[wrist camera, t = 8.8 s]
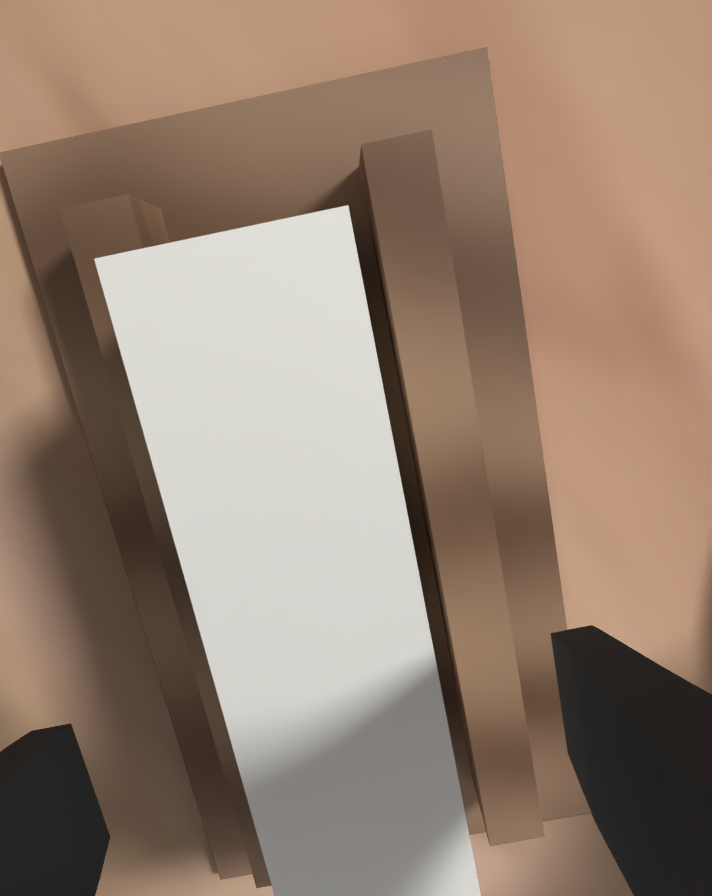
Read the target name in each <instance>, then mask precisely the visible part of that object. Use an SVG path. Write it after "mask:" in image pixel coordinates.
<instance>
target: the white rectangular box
mask: <svg viewBox="0 0 712 896" xmlns="http://www.w3.org/2000/svg"><path fill="white" fill-rule="evenodd" d="M94 260H95V264H96V267H97V271H98V274H99V278H100V282H101V285H102V289H103V292H104V296H105V299H106V303H107V306H108V310H109V313H110V317H111V320H112V324H113V327H114V331H115V334H116V338H117V341H118V345H119V349H120V352H121V356H122V359H123V363H124V366H125V370H126V373H127V377H128V380H129V384H130V387H131V391H132V394H133V398H134V401H135V405H136V409H137V412H138V416H139V419H140V423H141V426H142V430H143V433H144V437H145V440H146V444H147V447H148V451H149V454H150V458H151V461H152V465H153V469H154V472H155V476H156V479H157V483H158V486H159V490H160V493H161V497H162V500H163V504H164V507H165V511H166V514H167V518H168V521H169V525H170V529H171V532H172V536H173V539H174V543H175V546H176V550H177V553H178V557H179V560H180V564H181V567H182V571H183V574H184V578H185V581H186V585H187V588H188V592H189V596H190V599H191V603H192V606H193V610H194V613H195V617H196V620H197V624H198V627H199V631H200V634H201V638H202V641H203V645H204V648H205V652H206V656H207V659H208V663H209V666H210V670H211V673H212V677H213V680H214V684H215V687H216V691H217V694H218V698H219V701H220V705H221V708H222V712H223V716H224V719H225V723H226V726H227V730H228V733H229V737H230V740H231V744H232V747H233V751H234V754H235V758H236V761H237V765H238V768H239V772H240V776H241V779H242V783H243V786H244V790H245V793H246V797H247V800H248V804H249V807H250V811H251V814H252V818H253V821H254V825H255V828H256V832H257V835H258V839H259V843H260V846H261V850H262V853H263V857H264V860H265V864H266V867H267V871H268V874H269V878H270V881H271V885H272V888H273V892H274V895H275V896H481V894H480V888H479V883H478V878H477V873H476V868H475V862H474V857H473V852H472V847H471V842H470V836H469V831H468V826H467V821H466V816H465V810H464V805H463V800H462V795H461V790H460V784H459V779H458V774H457V769H456V764H455V758H454V753H453V748H452V743H451V737H450V732H449V727H448V722H447V717H446V711H445V706H444V701H443V696H442V691H441V685H440V680H439V675H438V670H437V665H436V659H435V654H434V649H433V644H432V639H431V633H430V628H429V623H428V618H427V613H426V607H425V602H424V597H423V592H422V587H421V581H420V576H419V571H418V566H417V560H416V555H415V550H414V545H413V540H412V534H411V529H410V524H409V519H408V514H407V508H406V503H405V498H404V493H403V488H402V482H401V477H400V472H399V467H398V462H397V456H396V451H395V446H394V441H393V436H392V430H391V425H390V420H389V415H388V409H387V404H386V399H385V394H384V389H383V383H382V378H381V373H380V368H379V363H378V357H377V352H376V347H375V342H374V337H373V331H372V326H371V321H370V316H369V311H368V305H367V300H366V295H365V290H364V285H363V279H362V274H361V269H360V264H359V259H358V253H357V248H356V243H355V238H354V232H353V227H352V222H351V217H350V212H349V206H348V205H347V206H342V207H337V208H332V209H328V210H323V211H318V212H313V213H309V214H304V215H299V216H294V217H290V218H285V219H280V220H275V221H271V222H266V223H261V224H256V225H252V226H247V227H242V228H237V229H233V230H228V231H223V232H218V233H214V234H209V235H204V236H199V237H195V238H190V239H185V240H180V241H176V242H171V243H166V244H161V245H157V246H152V247H147V248H142V249H138V250H133V251H128V252H123V253H119V254H114V255H109V256H104V257H100V258H95V259H94Z"/></svg>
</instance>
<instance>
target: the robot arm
mask: <svg viewBox="0 0 712 896" xmlns="http://www.w3.org/2000/svg"><path fill="white" fill-rule="evenodd" d="M550 634H551V641H552V648H553V655H554V662H555V668H556V675H557V682H558V689H559V696H560V703H561V710H562V717H563V724H564V731H565V738H566V745H567V752H568V755H569V758H570V760H571V763H572V765H573V768H574V770H575V773H576V776H577V778H578V781H579V783H580V786H581V788H582V791H583V793H584V796H585V798H586V801H587V803H588V806H589V808H590V810H591V813H592V815H593V818H594V820H595V822H596V824H597V826H598V828H599V830H600V832H601V834H602V836H603V838H604V840H605V842H606V843H607V845H608V847H609V849H610V851H611V853H612V855H613V857H614V859H615V860H616V862H617V864H618V866H619V868H620V870H621V872H622V874H623V876H624V877H625V879H626V881H627V883H628V885H629V887H630V889H631V891H632V892H633V894H634V896H712V694H710V693H708V692H706V691H704V690H702V689H701V688H699V687H697V686H695V685H693V684H692V683H690V682H688V681H686V680H685V679H683V678H681V677H679V676H677V675H676V674H674V673H672V672H671V671H669V670H667V669H665V668H664V667H662V666H660V665H659V664H657V663H655V662H654V661H652V660H650V659H648V658H647V657H645V656H643V655H642V654H640V653H638V652H637V651H635V650H633V649H632V648H630V647H628V646H627V645H625V644H623V643H622V642H620V641H618V640H617V639H615V638H613V637H612V636H610V635H608V634H607V633H605V632H603V631H602V630H600V629H598V628H596V627H594V626H592V625H591V626H586V627H580V628H575V629H570V630H565V631H559V632H554V633H550ZM109 839H110V835H109V832H108V829H107V826H106V823H105V820H104V818H103V815H102V812H101V809H100V806H99V803H98V800H97V797H96V794H95V792H94V789H93V786H92V783H91V780H90V777H89V774H88V771H87V768H86V766H85V763H84V760H83V757H82V754H81V751H80V748H79V745H78V742H77V740H76V737H75V734H74V731H73V728H72V725H71V724H66V725H61V726H55V727H50V728H45V729H39V730H34V731H31V732H29V733H28V734H26V735H24V736H23V737H21V738H20V739H18V740H17V741H15V742H14V743H12V744H11V745H9V746H8V747H7V748H5V749H4V750H2V751H1V752H0V896H95V893H96V890H97V886H98V883H99V879H100V876H101V872H102V867H103V863H104V859H105V855H106V851H107V847H108V843H109Z"/></svg>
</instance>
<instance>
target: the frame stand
mask: <svg viewBox="0 0 712 896" xmlns="http://www.w3.org/2000/svg"><path fill="white" fill-rule="evenodd" d="M0 159H1V162H2V165H3V169H4V172H5V175H6V178H7V182H8V185H9V188H10V192H11V195H12V198H13V201H14V205H15V208H16V211H17V215H18V218H19V221H20V224H21V228H22V231H23V234H24V237H25V241H26V244H27V247H28V251H29V254H30V257H31V260H32V264H33V267H34V270H35V274H36V277H37V280H38V283H39V287H40V290H41V293H42V296H43V300H44V303H45V306H46V310H47V313H48V316H49V319H50V323H51V326H52V329H53V333H54V336H55V339H56V342H57V346H58V349H59V352H60V356H61V359H62V362H63V365H64V369H65V372H66V375H67V378H68V382H69V385H70V388H71V392H72V395H73V398H74V401H75V405H76V408H77V411H78V415H79V418H80V421H81V424H82V428H83V431H84V434H85V437H86V441H87V444H88V447H89V451H90V454H91V457H92V460H93V464H94V467H95V470H96V474H97V477H98V480H99V483H100V487H101V490H102V493H103V496H104V500H105V503H106V506H107V510H108V513H109V516H110V519H111V523H112V526H113V529H114V533H115V536H116V539H117V542H118V546H119V549H120V552H121V556H122V559H123V562H124V565H125V569H126V572H127V575H128V578H129V582H130V585H131V588H132V592H133V595H134V598H135V601H136V605H137V608H138V611H139V615H140V618H141V621H142V624H143V628H144V631H145V634H146V637H147V641H148V644H149V647H150V651H151V654H152V657H153V660H154V664H155V667H156V670H157V674H158V677H159V680H160V683H161V687H162V690H163V693H164V697H165V700H166V703H167V706H168V710H169V713H170V716H171V719H172V723H173V726H174V729H175V733H176V736H177V739H178V742H179V746H180V749H181V752H182V756H183V759H184V762H185V765H186V769H187V772H188V775H189V778H190V782H191V785H192V788H193V792H194V795H195V798H196V801H197V805H198V808H199V811H200V815H201V818H202V821H203V824H204V828H205V831H206V834H207V837H208V841H209V844H210V847H211V851H212V854H213V857H214V860H215V864H216V867H217V870H218V874H219V877H220V880H222V879H227V878H233V877H238V876H244V875H249V874H253V877H254V881H255V884H256V887H257V888H260V887H266V886H271V881H270V878H269V874H268V871H267V867H266V864H265V860H264V857H263V853H262V850H261V846H260V843H259V839H258V835H257V832H256V828H255V825H254V821H253V818H252V814H251V811H250V807H249V804H248V800H247V797H246V793H245V790H244V786H243V783H242V779H241V776H240V772H239V768H238V765H237V761H236V758H235V754H234V751H233V747H232V744H231V740H230V737H229V733H228V730H227V726H226V723H225V719H224V716H223V712H222V708H221V705H220V701H219V698H218V694H217V691H216V687H215V684H214V680H213V677H212V673H211V670H210V666H209V663H208V659H207V656H206V652H205V648H204V645H203V641H202V638H201V634H200V631H199V627H198V624H197V620H196V617H195V613H194V610H193V606H192V603H191V599H190V596H189V592H188V588H187V585H186V581H185V578H184V574H183V571H182V567H181V564H180V560H179V557H178V553H177V550H176V546H175V543H174V539H173V536H172V532H171V529H170V525H169V521H168V518H167V514H166V511H165V507H164V504H163V500H162V497H161V493H160V490H159V486H158V483H157V479H156V476H155V472H154V469H153V465H152V461H151V458H150V454H149V451H148V447H147V444H146V440H145V437H144V433H143V430H142V426H141V423H140V419H139V416H138V412H137V409H136V405H135V401H134V398H133V394H132V391H131V387H130V384H129V380H128V377H127V373H126V370H125V366H124V363H123V359H122V356H121V352H120V349H119V345H118V341H117V338H116V334H115V331H114V327H113V324H112V320H111V317H110V313H109V310H108V306H107V303H106V299H105V296H104V292H103V289H102V285H101V282H100V278H99V274H98V271H97V267H96V264H95V260H94V259H95V258H100V257H104V256H109V255H114V254H119V253H123V252H128V251H133V250H138V249H142V248H147V247H152V246H157V245H161V244H166V243H171V242H176V241H180V240H185V239H190V238H195V237H199V236H204V235H209V234H214V233H218V232H223V231H228V230H233V229H237V228H242V227H247V226H252V225H256V224H261V223H266V222H271V221H275V220H280V219H285V218H290V217H294V216H299V215H304V214H309V213H313V212H318V211H323V210H328V209H332V208H337V207H342V206H347V205H348V206H349V212H350V217H351V222H352V227H353V232H354V238H355V243H356V248H357V253H358V259H359V264H360V269H361V274H362V279H363V285H364V290H365V295H366V300H367V305H368V311H369V316H370V321H371V326H372V331H373V337H374V342H375V347H376V352H377V357H378V363H379V368H380V373H381V378H382V383H383V389H384V394H385V399H386V404H387V409H388V415H389V420H390V425H391V430H392V436H393V441H394V446H395V451H396V456H397V462H398V467H399V472H400V477H401V482H402V488H403V493H404V498H405V503H406V508H407V514H408V519H409V524H410V529H411V534H412V540H413V545H414V550H415V555H416V560H417V566H418V571H419V576H420V581H421V587H422V592H423V597H424V602H425V607H426V613H427V618H428V623H429V628H430V633H431V639H432V644H433V649H434V654H435V659H436V665H437V670H438V675H439V680H440V685H441V691H442V696H443V701H444V706H445V711H446V717H447V722H448V727H449V732H450V737H451V743H452V748H453V753H454V758H455V764H456V769H457V774H458V779H459V784H460V790H461V795H462V800H463V805H464V810H465V816H466V821H467V826H468V831H469V835H472V834H477V833H483V832H486V833H487V837H488V840H489V844H490V846H494V845H500V844H506V843H511V842H517V841H522V840H528V839H533V838H539V837H545V836H544V830H543V823H542V822H544V821H550V820H555V819H561V818H566V817H572V816H577V815H583V814H588V813H591V810H590V808H589V806H588V803H587V801H586V798H585V796H584V793H583V791H582V788H581V786H580V783H579V781H578V778H577V776H576V773H575V770H574V768H573V765H572V763H571V760H570V758H569V755H568V752H567V745H566V738H565V731H564V724H563V717H562V710H561V703H560V696H559V689H558V682H557V675H556V668H555V662H554V655H553V648H552V641H551V634H550V633H554V632H559V631H565V630H567V626H566V619H565V611H564V604H563V597H562V589H561V582H560V575H559V568H558V560H557V553H556V546H555V539H554V531H553V524H552V517H551V509H550V502H549V495H548V488H547V480H546V473H545V466H544V459H543V451H542V444H541V437H540V429H539V422H538V415H537V408H536V400H535V393H534V386H533V379H532V371H531V364H530V357H529V349H528V342H527V335H526V328H525V320H524V313H523V306H522V299H521V291H520V284H519V277H518V270H517V262H516V255H515V248H514V240H513V233H512V226H511V219H510V211H509V204H508V197H507V190H506V182H505V175H504V168H503V160H502V153H501V146H500V139H499V131H498V124H497V117H496V110H495V102H494V95H493V88H492V80H491V73H490V66H489V59H488V51H487V47H486V48H481V49H476V50H472V51H467V52H463V53H458V54H453V55H449V56H444V57H439V58H435V59H430V60H426V61H421V62H416V63H412V64H407V65H402V66H398V67H393V68H389V69H384V70H379V71H375V72H370V73H365V74H361V75H356V76H352V77H347V78H342V79H338V80H333V81H328V82H324V83H319V84H315V85H310V86H305V87H301V88H296V89H291V90H287V91H282V92H278V93H273V94H268V95H264V96H259V97H254V98H250V99H245V100H241V101H236V102H231V103H227V104H222V105H217V106H213V107H208V108H204V109H199V110H194V111H190V112H185V113H180V114H176V115H171V116H166V117H162V118H157V119H153V120H148V121H143V122H139V123H134V124H129V125H125V126H120V127H116V128H111V129H106V130H102V131H97V132H92V133H88V134H83V135H79V136H74V137H69V138H65V139H60V140H55V141H51V142H46V143H42V144H37V145H32V146H28V147H23V148H18V149H14V150H9V151H5V152H0Z"/></svg>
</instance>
